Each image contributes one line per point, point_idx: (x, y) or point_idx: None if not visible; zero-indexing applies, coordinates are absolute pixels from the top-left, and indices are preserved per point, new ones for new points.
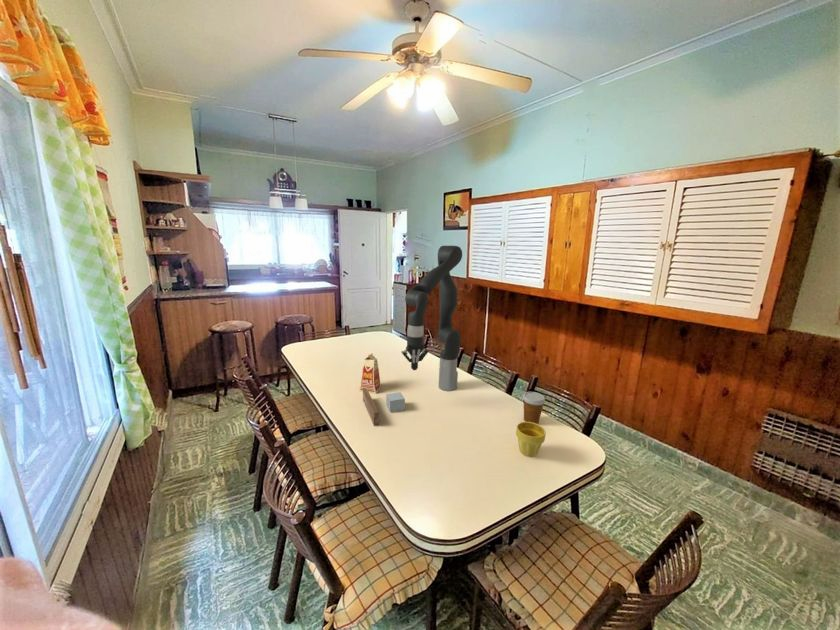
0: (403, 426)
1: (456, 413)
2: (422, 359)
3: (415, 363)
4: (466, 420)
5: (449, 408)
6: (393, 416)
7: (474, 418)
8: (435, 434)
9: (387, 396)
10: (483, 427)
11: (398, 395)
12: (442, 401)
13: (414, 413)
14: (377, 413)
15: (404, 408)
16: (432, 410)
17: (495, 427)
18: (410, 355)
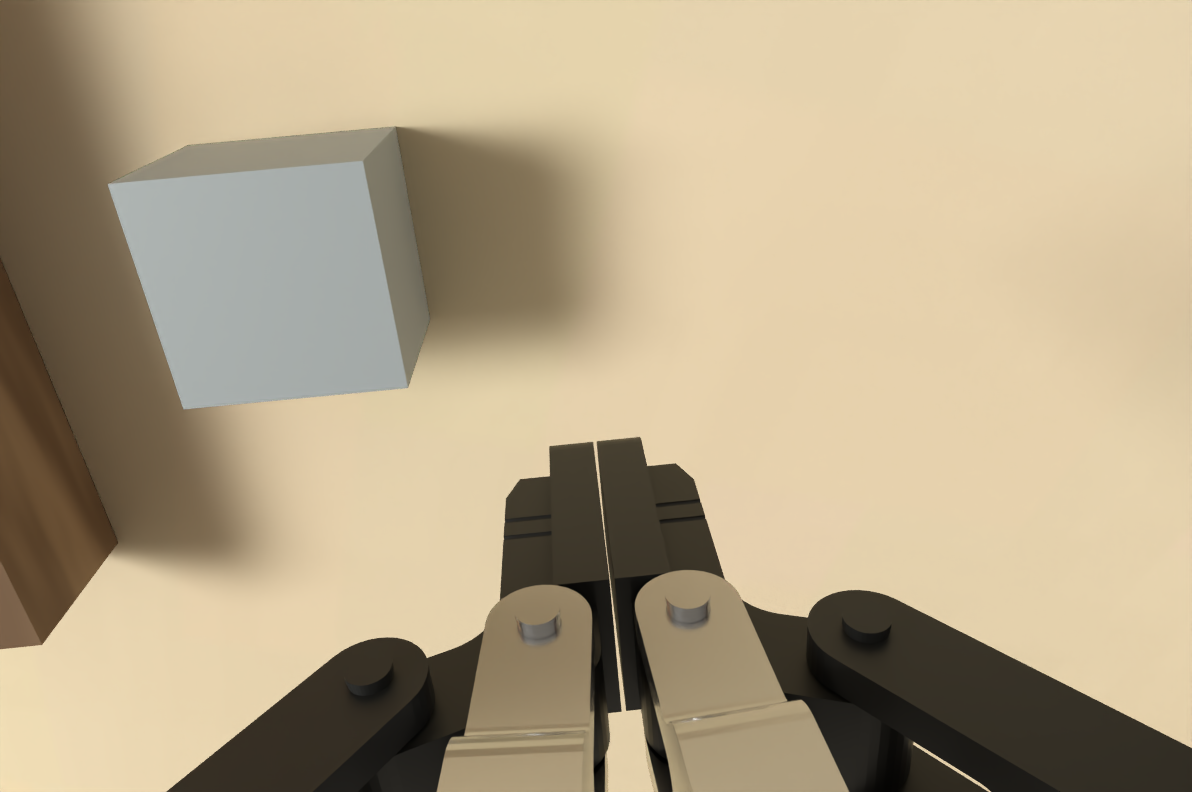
0: (374, 595)
1: (977, 480)
2: (925, 784)
3: (626, 698)
4: (992, 599)
5: (965, 376)
6: (283, 420)
7: (1084, 583)
8: (629, 724)
9: (136, 259)
10: None
11: (319, 271)
12: (980, 197)
13: (534, 404)
14: (36, 638)
15: (424, 328)
16: (757, 381)
17: (1148, 713)
18: (447, 789)
